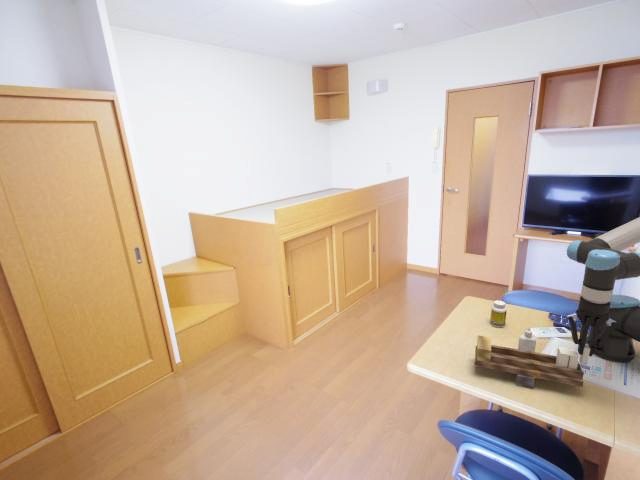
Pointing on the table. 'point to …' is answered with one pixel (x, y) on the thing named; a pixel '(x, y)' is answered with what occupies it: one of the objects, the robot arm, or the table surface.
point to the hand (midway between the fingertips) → (583, 362)
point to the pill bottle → (498, 314)
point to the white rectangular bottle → (527, 341)
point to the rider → (567, 358)
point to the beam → (524, 364)
